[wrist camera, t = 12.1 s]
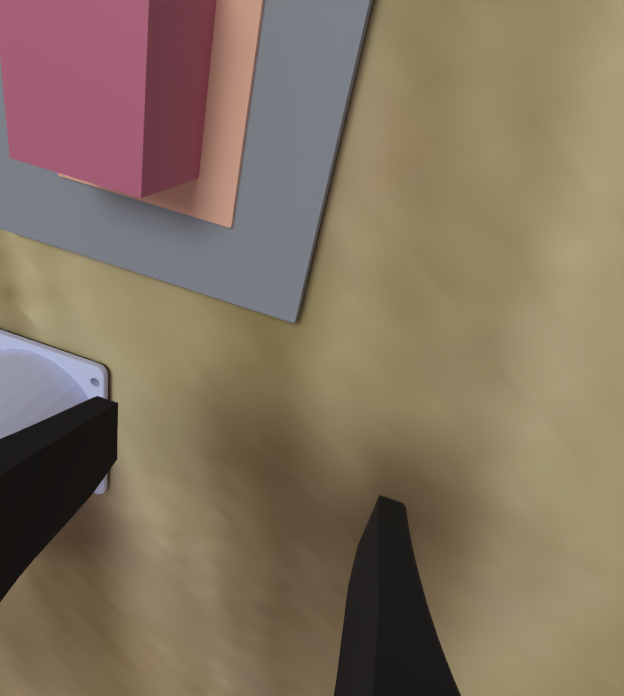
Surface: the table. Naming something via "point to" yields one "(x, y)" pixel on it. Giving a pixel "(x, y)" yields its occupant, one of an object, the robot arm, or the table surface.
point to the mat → (223, 165)
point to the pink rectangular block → (108, 88)
